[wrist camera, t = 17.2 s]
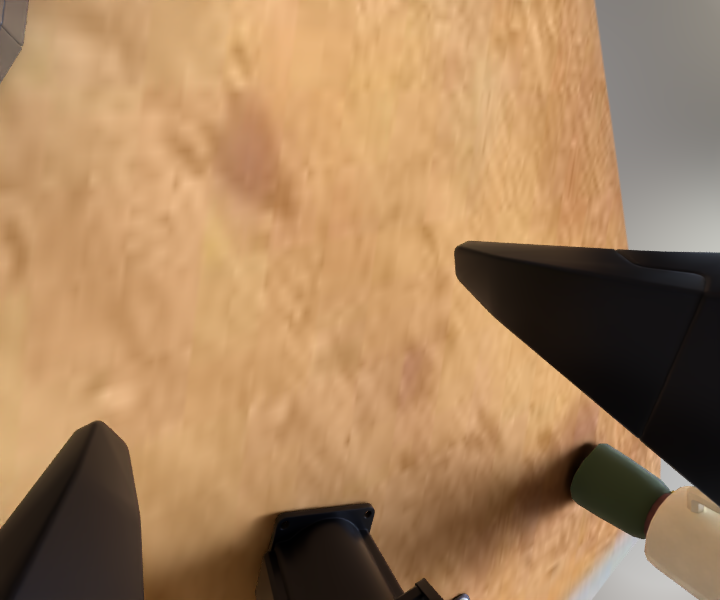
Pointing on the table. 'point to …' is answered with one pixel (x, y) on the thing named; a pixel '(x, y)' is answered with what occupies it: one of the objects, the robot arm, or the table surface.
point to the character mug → (655, 518)
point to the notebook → (463, 597)
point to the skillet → (11, 32)
